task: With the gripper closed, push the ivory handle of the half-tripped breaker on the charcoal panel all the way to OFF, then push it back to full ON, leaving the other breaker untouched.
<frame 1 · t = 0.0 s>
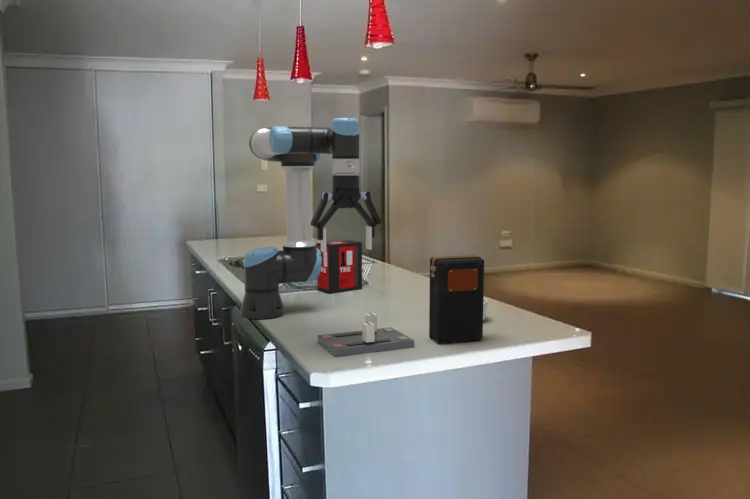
hand: (346, 250, 179), 28 cm above the worktop, tool pointing down, fingers open, 13 cm apart
tripped breaker: (368, 331, 179), point 5 cm above the worktop, slide at 5.0 cm
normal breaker: (371, 322, 190), point 5 cm above the worktop, slide at 10.0 cm
ramekin: (467, 320, 214), on the worktop
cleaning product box: (340, 290, 266), on the worktop
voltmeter: (456, 340, 190), on the worktop
breaker panel: (365, 344, 185), on the worktop
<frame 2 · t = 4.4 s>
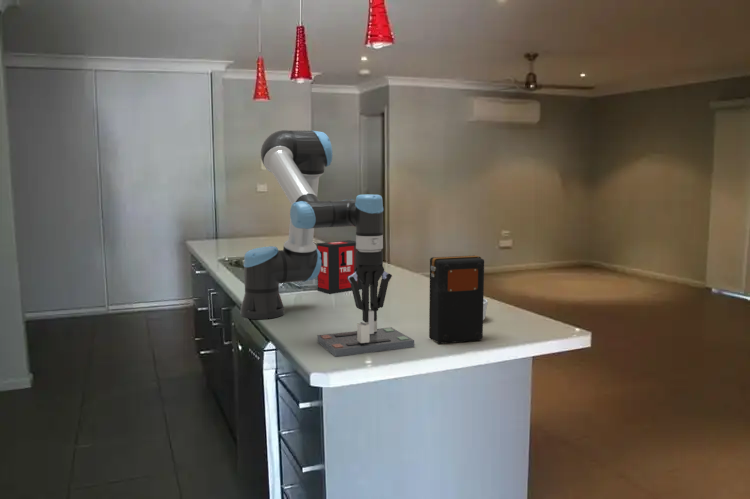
hand: (369, 332, 180), 5 cm above the worktop, tool pointing down, fingers closed
tripped breaker: (363, 332, 179), point 5 cm above the worktop, slide at 3.4 cm, touching gripper
everything else where it was.
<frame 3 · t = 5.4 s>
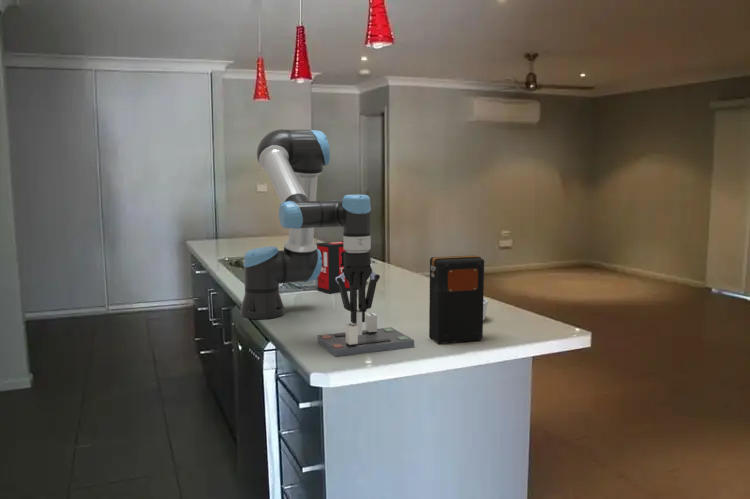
hand: (357, 333, 178), 5 cm above the worktop, tool pointing down, fingers closed
tripped breaker: (351, 333, 177), point 5 cm above the worktop, slide at -0.1 cm, touching gripper
everything else where it was.
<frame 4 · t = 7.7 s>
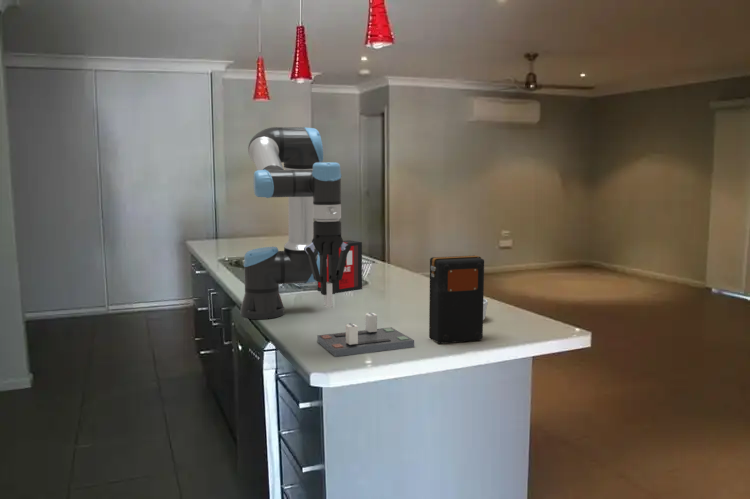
hand: (328, 306, 173), 14 cm above the worktop, tool pointing down, fingers closed
tripped breaker: (351, 333, 177), point 5 cm above the worktop, slide at -0.1 cm
everything else where it was.
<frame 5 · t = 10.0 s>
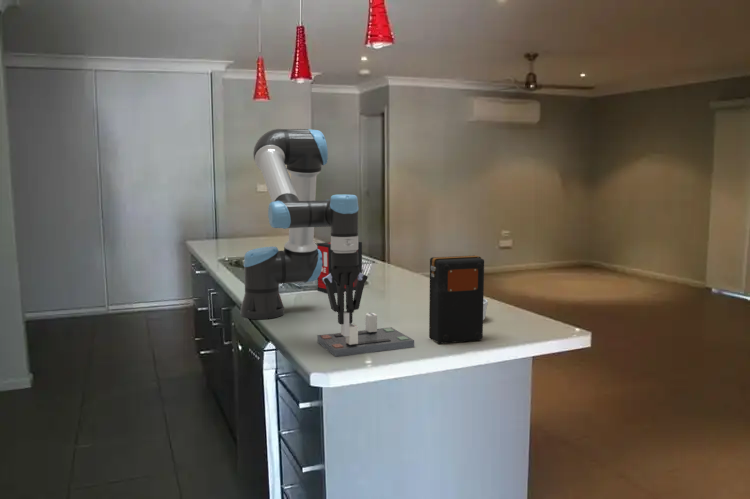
hand: (345, 335, 177), 5 cm above the worktop, tool pointing down, fingers closed
tripped breaker: (351, 333, 177), point 5 cm above the worktop, slide at 0.0 cm, touching gripper
everything else where it was.
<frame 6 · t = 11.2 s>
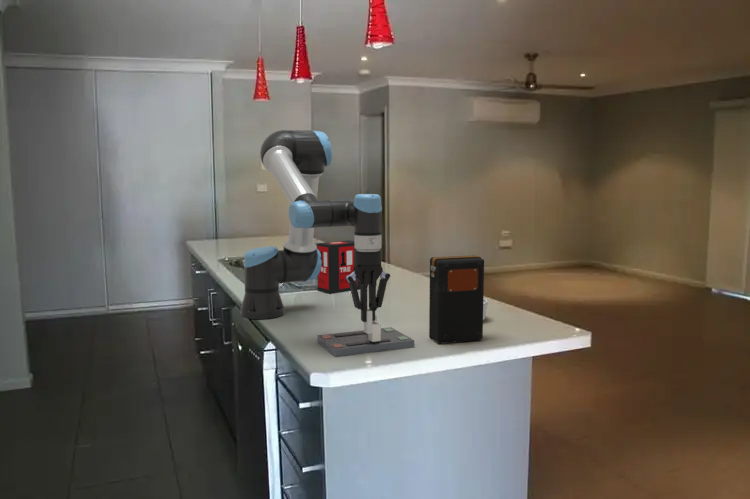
hand: (368, 332, 179), 5 cm above the worktop, tool pointing down, fingers closed
tripped breaker: (374, 331, 180), point 5 cm above the worktop, slide at 6.9 cm, touching gripper
everything else where it was.
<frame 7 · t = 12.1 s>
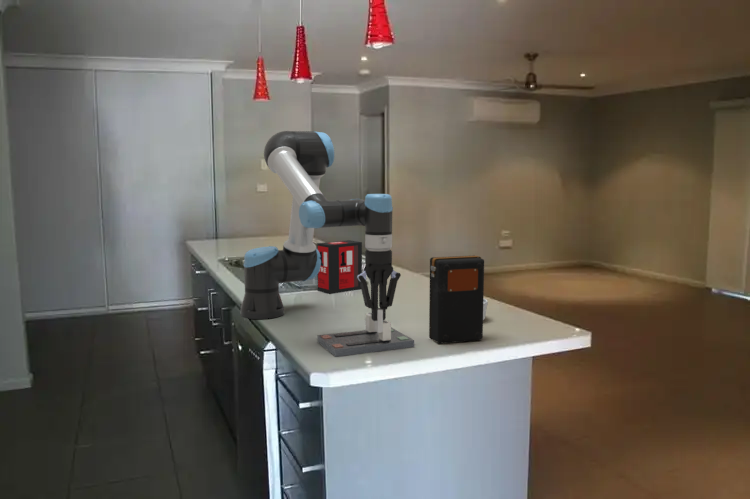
hand: (378, 331, 180), 5 cm above the worktop, tool pointing down, fingers closed
tripped breaker: (384, 330, 181), point 5 cm above the worktop, slide at 10.1 cm, touching gripper
everything else where it was.
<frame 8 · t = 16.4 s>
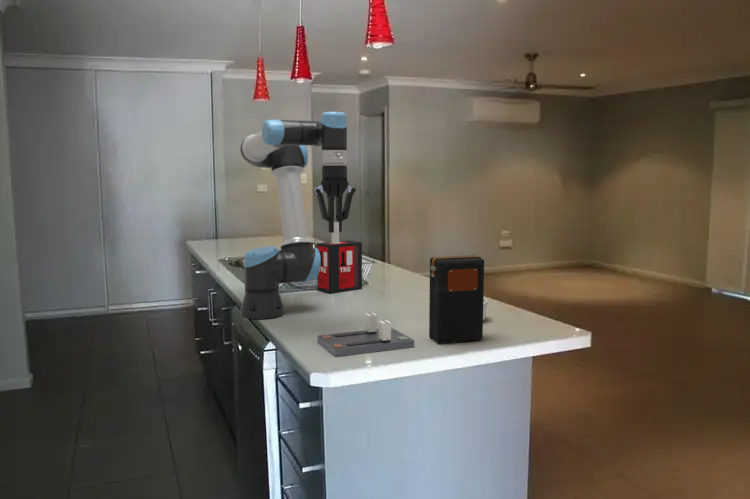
hand: (335, 243, 192), 28 cm above the worktop, tool pointing down, fingers closed
tripped breaker: (384, 330, 181), point 5 cm above the worktop, slide at 10.1 cm
everything else where it was.
at the end: tripped breaker slide at 10.1 cm; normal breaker slide at 10.0 cm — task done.
